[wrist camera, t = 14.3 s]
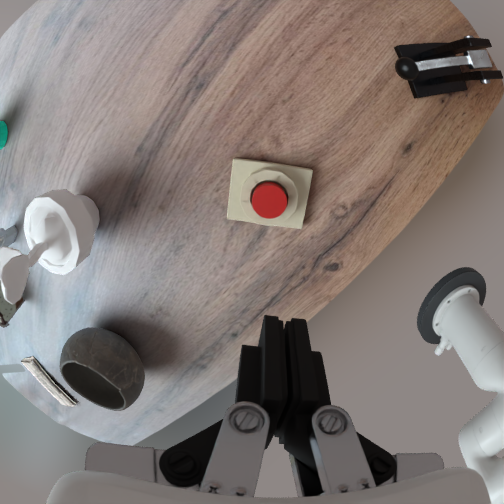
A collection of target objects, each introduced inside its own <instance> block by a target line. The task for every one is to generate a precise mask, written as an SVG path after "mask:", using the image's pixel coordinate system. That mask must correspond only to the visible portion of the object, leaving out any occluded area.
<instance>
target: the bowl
mask: <svg viewBox="0 0 504 504" xmlns="http://www.w3.org/2000/svg"><path fill="white" fill-rule="evenodd" d="M60 372H61V374H62V376H63V378H64V380H65V381H66V382H67V384H68V385H69V386H70V387H71V388H72V389H73V390H74V391H76V392H77V393H78V394H80V395H81V396H83V397H84V398H86V399H87V400H89V401H91V402H92V403H94V404H96V405H99V406H101V407H104V408H106V409H109V410H114V411H121V410H124V409H126V408H128V407H129V406H130V405H132V404H133V403H134V402H135V401H136V399H137V398H138V397H139V395H140V393H141V391H142V389H143V386H144V380H145V372H144V368H143V364H142V362H141V360H140V358H139V356H138V355H137V353H136V351H135V350H134V348H133V347H132V346H131V345H130V344H129V343H128V342H127V341H126V340H125V339H124V338H122V337H121V336H119V335H117V334H116V333H114V332H111V331H109V330H106V329H102V328H86V329H82V330H80V331H78V332H76V333H75V334H73V335H72V336H71V337H70V338H69V339H68V340H67V342H66V343H65V345H64V347H63V350H62V353H61V358H60Z"/></svg>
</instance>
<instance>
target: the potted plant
mask: <svg viewBox="0 0 504 504" xmlns="http://www.w3.org/2000/svg"><path fill="white" fill-rule="evenodd" d="M99 221H100V218H99V210H98V208H97V206H96V205H95V203H94V201H93V200H91V199H90V198H88V197H87V196H85V195H74V194H72V193H71V192H69V191H68V190H67V189H63V190H52V191H49V192H47V193H45V194H43V195H40V196H38V197H36V198H35V199H34V200H33V201H32V202H31V203H30V205H29V206H28V207H27V208H26V212H25V218H24V226H23V227H24V231H25V236H26V240H27V244H28V247H29V248H30V250H31V251H30V252H29V254H28V255H24V254H22V253H21V252H20V251H19V250H16V249H13V248H10V247H6V246H2V247H0V281H1V286H2V291H3V295H4V298H5V300H6V301H7V302H9V303H11V304H15V303H16V302H17V301H19V300H20V299H21V297H22V294H23V292H24V289H25V286H26V284H27V279H28V276H29V274H30V272H29V267H32V266H33V265H34V264H35V263H36V262H38V263H39V264H41V265H42V266H43V267H44V268H46V269H47V270H48V271H49V272H51V273H55V274H61V275H66V274H67V273H68V272H70V271H71V270H73V269H74V268H75V267H76V266H78V265H79V264H80V263H81V262H82V261H83V260H84V259H85V258H86V257H88V256H89V255H90V252H91V248H92V245H93V242H94V239H95V238H94V234H95V232H96V230H97V227H98V224H99ZM2 236H3V235H2ZM0 237H1V236H0ZM3 238H4V237H3ZM3 238H1V239H0V241H1V240H2V239H3Z"/></svg>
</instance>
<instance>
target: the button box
mask: <svg viewBox="0 0 504 504" xmlns="http://www.w3.org/2000/svg"><path fill="white" fill-rule="evenodd" d="M312 174H313V170H311V169H309V168H303V167H297V166H291V165H285V164H278V163H272V162H265V161H257V160H250V159H241V158H234V159H233V165H232V173H231V182H230V192H229V201H228V211H227V219H230V220H238V221H246V222H253V223H257V224H259V225H266V226H282V227H289V228H296V229H302V226H303V221H304V216H305V211H306V206H307V200H308V195H309V190H310V185H311V179H312ZM265 182H274V183H276V184H278V185H280V186H281V187H282V188H283V190H284V192H285V195H286V198H287V206H286V209H285V211H284V212H283V213H282V214H281V215H280V216H278V217H276V218H273V219H266V218H263V217H261V216H259V215H258V214H257V213H256V212H255V211H254V209H253V206H252V197H253V193H254V190H255V189H256V188H257V186H259V185H260V184H262V183H265Z"/></svg>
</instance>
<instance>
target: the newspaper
mask: <svg viewBox="0 0 504 504" xmlns="http://www.w3.org/2000/svg"><path fill="white" fill-rule="evenodd" d="M21 362H22V363H23V364H24V365H25V367H26V368H27V369H28V370H29V371H30V372H31V373H32V375H33V376H34V377H35V378H36V379H37V380H38V381H39V382H40V383H41V384H42V385H43V386H44V387H45V388H46V389H47V390H48V391H49V392H50V393H51V394H52V395H53V396H54V397H55V398H56V399H57V400H58V401H59V402H60V403H61V404H63V405H66V406H70V407H75V404H76V403H75V402H74V401H73V400H72V399H71V398H69V397H68V396H67V395H66V394H65V393H64V392H63V391H62V390H61V389H60V388H59V387H58V386H57V385H56V384H55V383H54V382H53V381H52V380H51V378H50V377H49V376H48V375H47V374H46V372H45V371H44V370H43V369H42V367H41V366H40V365H39V363H38V362H37V361H36V359H35V358H34V357H33V356H32V357H30V358H24V359H23V360H22V361H21Z"/></svg>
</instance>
